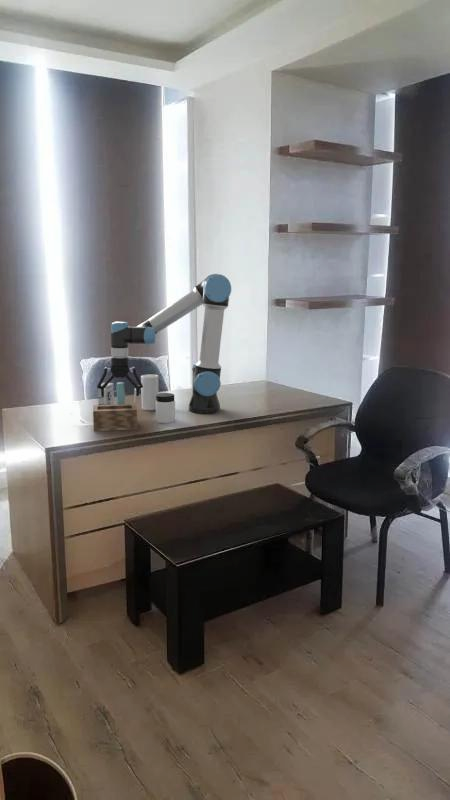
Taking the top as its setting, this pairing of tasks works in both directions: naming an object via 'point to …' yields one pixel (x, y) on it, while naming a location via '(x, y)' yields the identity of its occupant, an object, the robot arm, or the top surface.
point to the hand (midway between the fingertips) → (120, 403)
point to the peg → (120, 393)
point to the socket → (115, 417)
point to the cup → (149, 391)
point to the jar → (165, 408)
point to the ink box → (109, 395)
